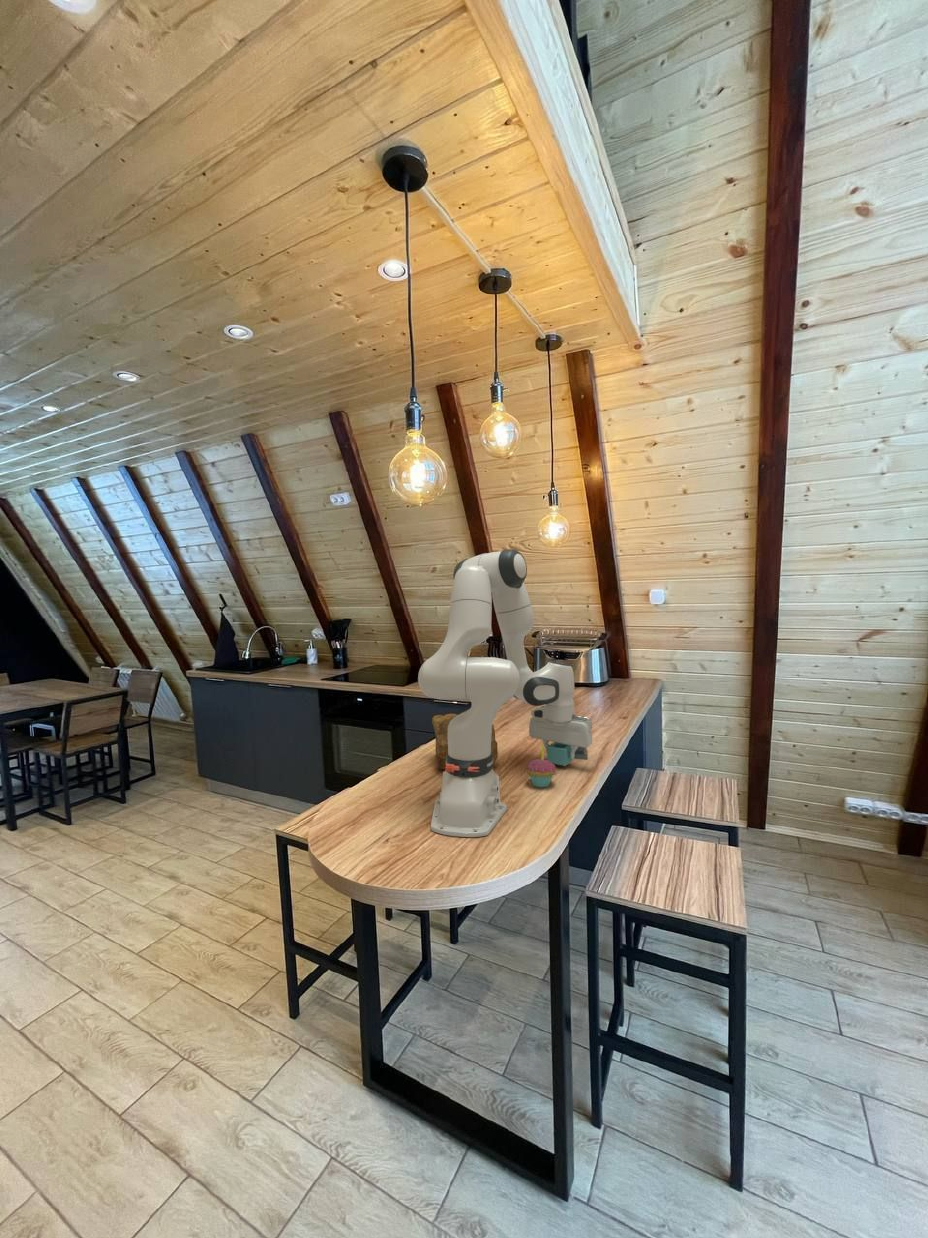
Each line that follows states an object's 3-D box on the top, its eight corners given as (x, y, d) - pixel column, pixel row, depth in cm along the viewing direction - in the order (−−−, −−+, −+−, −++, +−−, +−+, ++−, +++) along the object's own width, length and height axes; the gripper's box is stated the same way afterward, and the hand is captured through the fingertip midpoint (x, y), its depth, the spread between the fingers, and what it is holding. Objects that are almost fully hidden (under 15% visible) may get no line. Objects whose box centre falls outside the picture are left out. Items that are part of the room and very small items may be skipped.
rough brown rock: (412, 769, 156) (410, 724, 153) (441, 750, 170) (440, 708, 167) (475, 786, 143) (474, 738, 141) (501, 764, 157) (500, 719, 155)
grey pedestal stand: (587, 759, 160) (587, 724, 159) (565, 758, 162) (565, 723, 161) (586, 746, 173) (586, 714, 172) (565, 745, 174) (565, 713, 173)
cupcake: (531, 776, 146) (531, 737, 145) (559, 781, 142) (559, 740, 142) (522, 787, 139) (521, 745, 138) (551, 792, 135) (551, 749, 134)
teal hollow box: (572, 760, 156) (572, 744, 155) (565, 765, 151) (565, 749, 150) (555, 756, 159) (555, 741, 159) (547, 762, 154) (547, 746, 154)
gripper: (595, 715, 150) (595, 759, 151) (535, 706, 162) (535, 747, 163) (588, 719, 145) (588, 765, 146) (526, 710, 157) (526, 752, 158)
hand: (560, 755), depth 155 cm, fingers open, 6 cm apart
